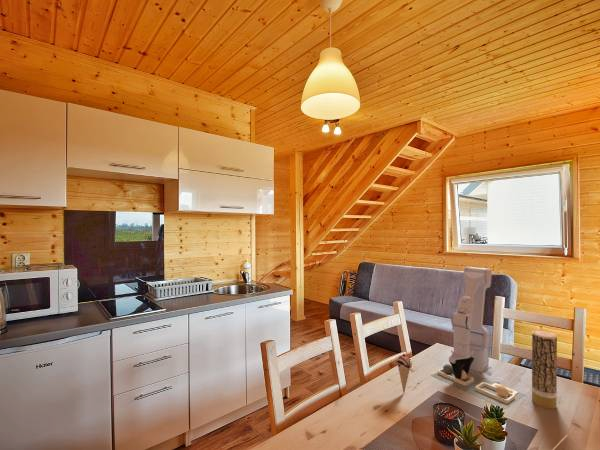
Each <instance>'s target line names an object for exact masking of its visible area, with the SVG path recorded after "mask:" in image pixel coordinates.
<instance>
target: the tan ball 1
mask: <svg viewBox="0 0 600 450" xmlns="http://www.w3.org/2000/svg"><path fill="white" fill-rule="evenodd" d="M466 378H467V374H466V372H465V371H464V370H462V376H461V379H459V380H465V379H466Z"/></svg>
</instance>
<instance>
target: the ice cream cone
mask: <svg viewBox="0 0 600 450" xmlns="http://www.w3.org/2000/svg"><path fill="white" fill-rule="evenodd" d="M395 364H396V365H397V367H398V372H399V373H398V374H399V377H400V384H401V387H402V392H403V393H405V391H406V387H407V383H408V378H409V373H410V370H411V368H412V366H413V363H412V362H411V358H410V357H409V356H408V355H406V354H405V353H402V354H400V355H399V356H398V357H397V360H396V361H395Z"/></svg>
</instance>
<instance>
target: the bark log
mask: <svg viewBox="0 0 600 450" xmlns="http://www.w3.org/2000/svg"><path fill="white" fill-rule="evenodd" d="M531 332H532V334H531V335H532V336H531V338H532V339H531V344H532V345H531V347H532V348H531V358H532V359H531V400H532V403H533V404H535V405H536V406H538V407H541V408H544V409H548V410H554V409H556V408H557V393H558V391H557V388H558V387H557V381H558V379H557V376H558V375H557V372H558V371H557V370H558V369H557V364H558V361H557V359H558V354H557V353H558V348H557V347H558V337H557V336H558V335H557V334H555V333H553V332H550V331H546V330H538V329H537V330H536V329H535V330H532V331H531Z"/></svg>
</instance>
